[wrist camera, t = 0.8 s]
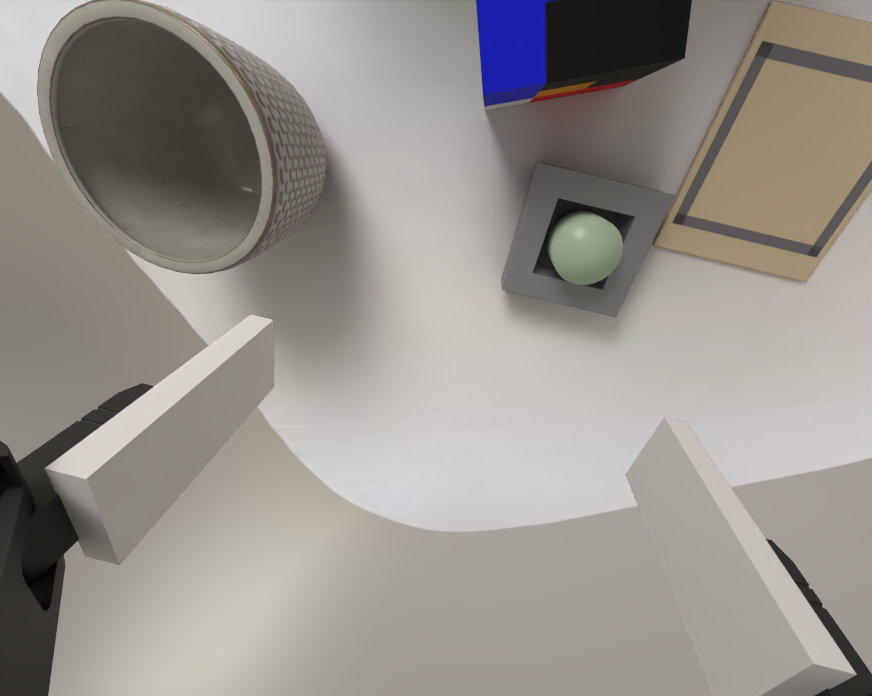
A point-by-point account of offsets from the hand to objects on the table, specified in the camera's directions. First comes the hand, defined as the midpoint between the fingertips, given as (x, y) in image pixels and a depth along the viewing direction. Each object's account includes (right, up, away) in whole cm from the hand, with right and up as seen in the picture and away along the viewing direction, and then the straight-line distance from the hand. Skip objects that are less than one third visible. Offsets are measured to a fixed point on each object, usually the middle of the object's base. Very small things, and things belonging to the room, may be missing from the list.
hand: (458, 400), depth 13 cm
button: (+11, +10, +19) cm, 24 cm away
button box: (+11, +11, +20) cm, 26 cm away
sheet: (+26, +16, +16) cm, 34 cm away
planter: (-15, +19, +20) cm, 31 cm away
